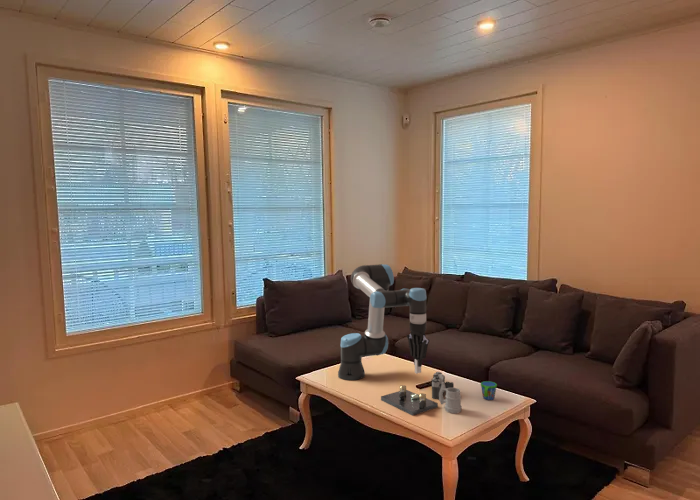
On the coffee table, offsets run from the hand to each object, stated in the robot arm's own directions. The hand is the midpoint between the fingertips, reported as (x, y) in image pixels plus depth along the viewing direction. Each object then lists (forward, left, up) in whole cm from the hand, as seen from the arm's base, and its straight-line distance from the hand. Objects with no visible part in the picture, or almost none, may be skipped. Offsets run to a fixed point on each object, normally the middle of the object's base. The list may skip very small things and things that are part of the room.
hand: (418, 372), depth 230 cm
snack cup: (+8, +39, -19) cm, 44 cm away
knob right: (-3, +5, -17) cm, 18 cm away
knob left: (-17, +5, -17) cm, 24 cm away
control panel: (-10, +3, -19) cm, 22 cm away
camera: (-9, +25, -19) cm, 33 cm away
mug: (+6, +14, -19) cm, 24 cm away
